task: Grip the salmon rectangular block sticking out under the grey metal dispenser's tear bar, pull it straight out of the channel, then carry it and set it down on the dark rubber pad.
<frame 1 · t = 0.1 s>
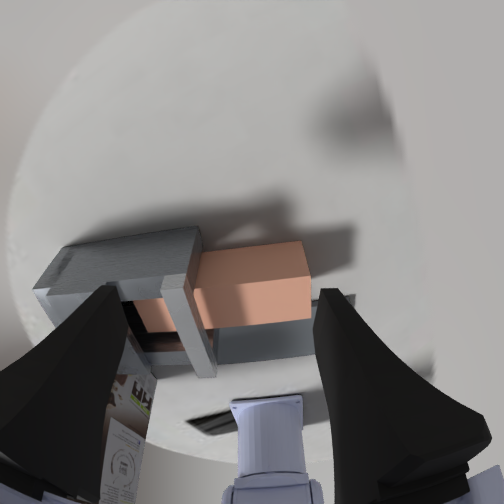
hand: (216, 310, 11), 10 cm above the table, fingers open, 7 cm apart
pad: (275, 332, 26), on the table
dispenser: (145, 280, 23), on the table
coffee box: (108, 364, 29), on the table
salmon rectangular block: (224, 269, 23), on the table
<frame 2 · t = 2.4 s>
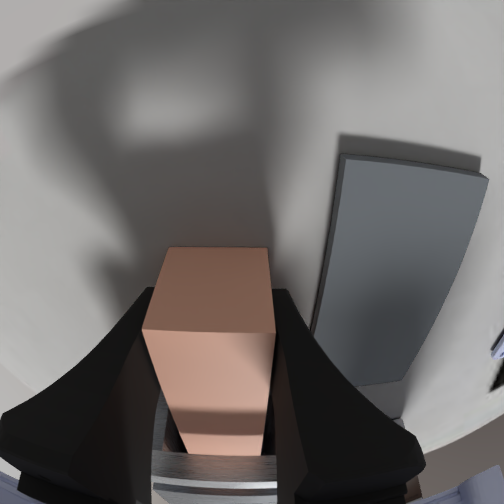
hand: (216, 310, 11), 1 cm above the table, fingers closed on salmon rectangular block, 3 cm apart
pad: (383, 297, 13), on the table
dispenser: (227, 408, 18), on the table
coffee box: (354, 443, 23), on the table
salmon rectangular block: (223, 348, 14), on the table, touching gripper
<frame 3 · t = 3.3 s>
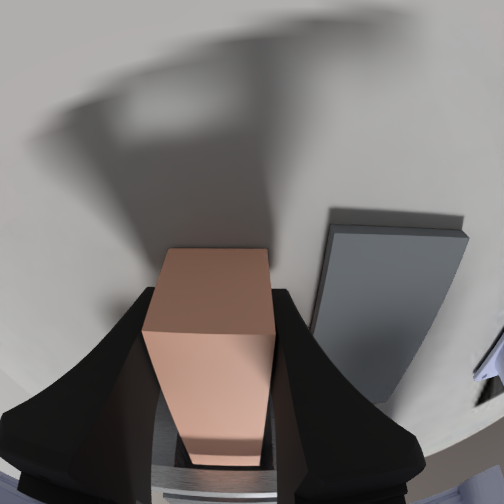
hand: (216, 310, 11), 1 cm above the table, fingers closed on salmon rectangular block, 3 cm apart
pad: (367, 337, 14), on the table
dispenser: (228, 424, 19), on the table
salmon rectangular block: (223, 348, 14), on the table, touching gripper
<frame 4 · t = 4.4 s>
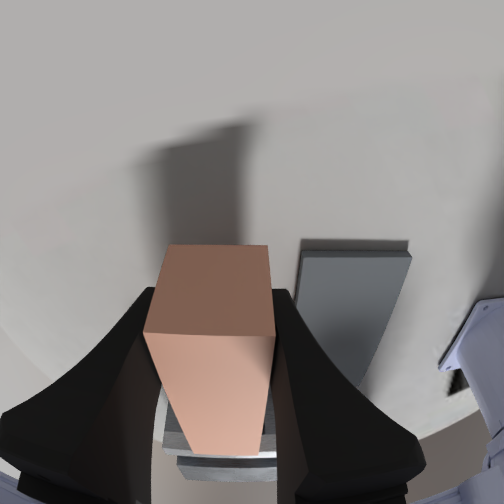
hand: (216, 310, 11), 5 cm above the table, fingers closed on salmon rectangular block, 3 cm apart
pad: (337, 331, 19), on the table
dispenser: (230, 404, 24), on the table
salmon rectangular block: (223, 341, 14), point 3 cm above the table, touching gripper
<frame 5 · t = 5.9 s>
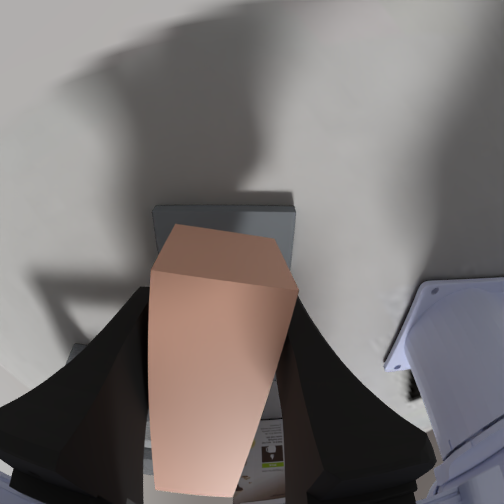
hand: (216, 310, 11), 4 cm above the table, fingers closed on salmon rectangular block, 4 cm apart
pad: (227, 309, 17), on the table
dispenser: (141, 390, 22), on the table
coffee box: (272, 436, 27), on the table
salmon rectangular block: (206, 356, 13), point 4 cm above the table, tilted 14°, touching gripper
when the fingers open (4 cm above the table, at t = 6.8 s): salmon rectangular block drops 3 cm, resting on pad.
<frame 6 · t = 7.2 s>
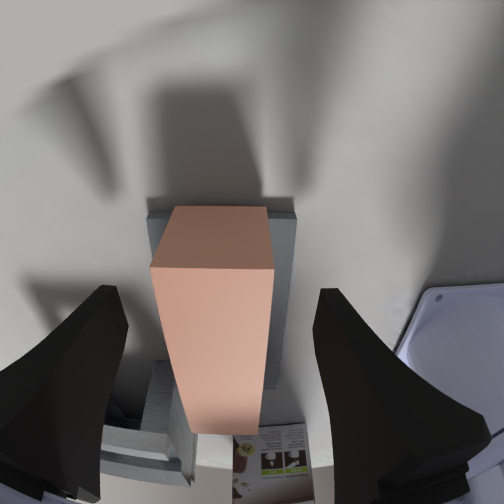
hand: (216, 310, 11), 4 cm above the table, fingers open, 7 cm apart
pad: (225, 317, 16), on the table
dispenser: (138, 397, 21), on the table
coffee box: (271, 441, 26), on the table
salmon rectangular block: (223, 311, 15), point 1 cm above the table, touching pad
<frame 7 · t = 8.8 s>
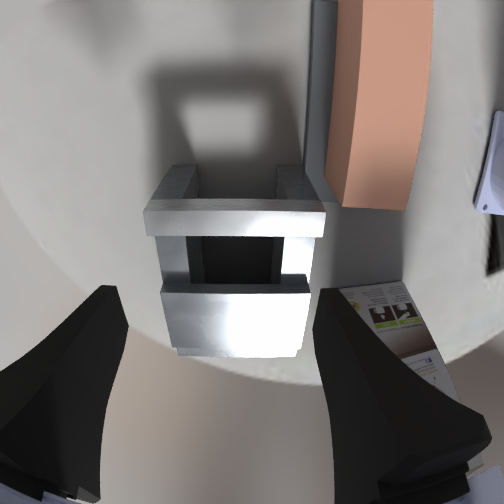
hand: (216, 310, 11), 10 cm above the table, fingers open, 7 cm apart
pad: (358, 105, 16), on the table
dispenser: (237, 237, 21), on the table
coffee box: (360, 322, 26), on the table
salmon rectangular block: (363, 89, 15), point 1 cm above the table, touching pad
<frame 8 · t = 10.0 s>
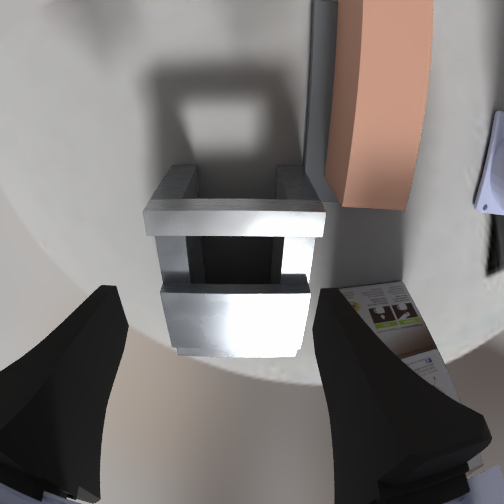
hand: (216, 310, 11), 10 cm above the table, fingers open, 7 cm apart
pad: (358, 105, 16), on the table
dispenser: (237, 237, 21), on the table
coffee box: (360, 322, 26), on the table
salmon rectangular block: (363, 89, 15), point 1 cm above the table, touching pad
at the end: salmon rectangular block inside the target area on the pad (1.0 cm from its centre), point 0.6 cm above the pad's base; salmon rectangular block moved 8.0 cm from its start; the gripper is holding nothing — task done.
